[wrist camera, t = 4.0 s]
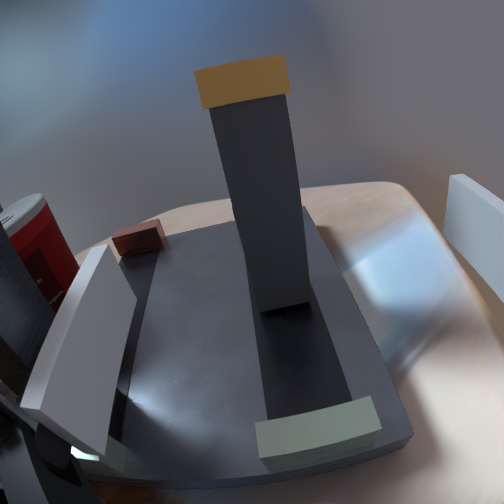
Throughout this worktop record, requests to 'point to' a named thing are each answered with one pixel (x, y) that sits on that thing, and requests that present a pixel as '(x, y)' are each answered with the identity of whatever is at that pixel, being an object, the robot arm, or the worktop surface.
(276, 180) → the lever
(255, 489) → the worktop surface
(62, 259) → the canned food
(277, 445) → the panel
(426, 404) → the worktop surface
